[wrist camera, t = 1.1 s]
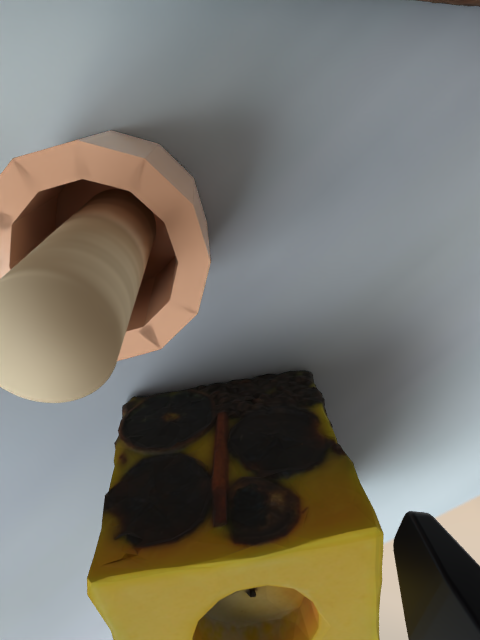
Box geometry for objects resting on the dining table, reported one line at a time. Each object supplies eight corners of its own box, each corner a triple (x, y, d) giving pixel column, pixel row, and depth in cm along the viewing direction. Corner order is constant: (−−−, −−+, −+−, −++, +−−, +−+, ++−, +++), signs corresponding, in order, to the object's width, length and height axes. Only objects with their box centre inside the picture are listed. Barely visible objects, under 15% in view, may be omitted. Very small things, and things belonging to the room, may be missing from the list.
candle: (160, 525, 27) (144, 732, 18) (118, 395, 22) (68, 585, 14) (321, 497, 27) (382, 688, 18) (311, 362, 23) (387, 528, 14)
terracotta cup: (78, 315, 20) (40, 382, 15) (3, 161, 17) (-75, 183, 12) (222, 274, 20) (231, 329, 15) (174, 111, 17) (165, 113, 12)
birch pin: (99, 268, 19) (11, 417, 10) (69, 200, 17) (-64, 300, 8) (165, 250, 19) (139, 382, 10) (141, 180, 17) (83, 258, 8)
